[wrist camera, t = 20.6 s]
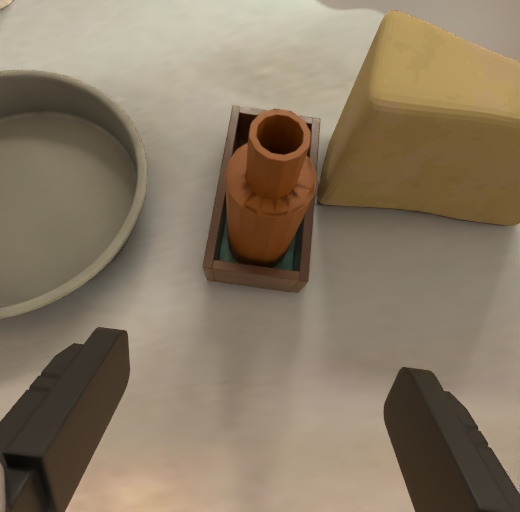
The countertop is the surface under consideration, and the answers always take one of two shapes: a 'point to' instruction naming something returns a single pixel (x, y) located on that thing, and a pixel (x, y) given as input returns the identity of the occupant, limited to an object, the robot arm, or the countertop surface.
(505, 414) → the countertop surface
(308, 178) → the bottle
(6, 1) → the cream cylinder
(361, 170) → the cheese
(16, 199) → the cake pan
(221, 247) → the holder
